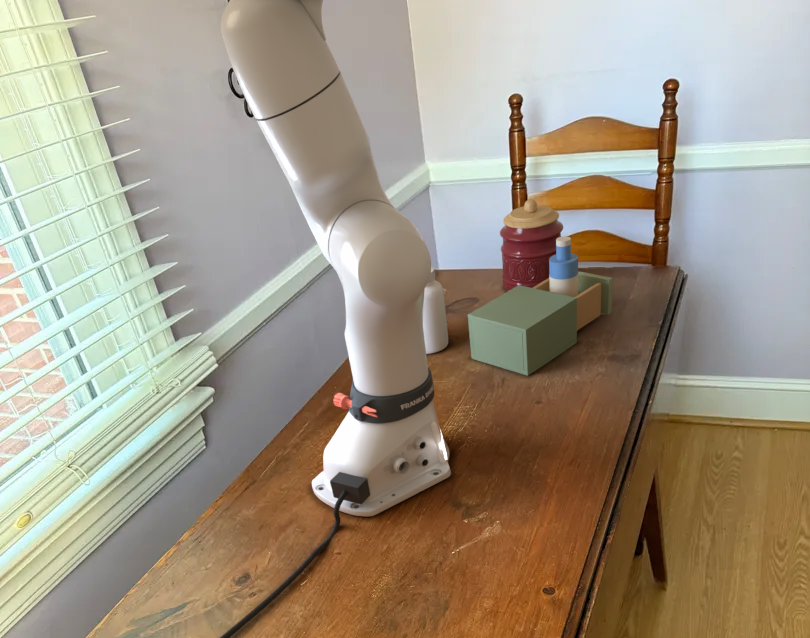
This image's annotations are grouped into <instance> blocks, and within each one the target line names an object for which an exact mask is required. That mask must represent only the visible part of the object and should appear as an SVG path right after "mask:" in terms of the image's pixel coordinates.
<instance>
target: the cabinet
mask: <svg viewBox="0 0 810 638" xmlns="http://www.w3.org/2000/svg"><path fill="white" fill-rule="evenodd" d="M467 322H468V333H469V344H470V355H471V360H475V361H478V362H482V363H484V364H489V365H491V366H493V367H494V366H495V367H498V368H501V369H505V370H508V371H511V372H514V373H518V374H521V375H524V376H526V377H527V376H530V375H532V374H533V373H534V372H536V371H537V370H539V369H540V368H541V367H543V366H545V365H546V364H548V363H549V362H551V361H552V360H553V359H556V358H557V357H558V356H560V355H561V354H562V353H563V352H565V351H567V350H568V349H570V348H572V347H573V346H574V345H576V344H577V343H578V339H577V337H578V330H577V298H575V297H571V296H566V295H562V294H557V293H552V292H548V291H543V290H539V289H534V288H530V287H525V286H521V285H518V286H516V287H515V288H513V289H511V290H509V291H506V292H504V293H503V294H501V295H499V296H497V297H495V298H493V299H492V300H490V301H489V302H487V303H485V304H483V305H482V306H480V307H479V308H476V309H475V310H473V311H471V312H469V313H468V314H467Z"/></svg>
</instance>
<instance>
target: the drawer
mask: <svg viewBox="0 0 810 638" xmlns="http://www.w3.org/2000/svg"><path fill="white" fill-rule="evenodd" d="M533 288H534V289H539V290H543V291H548V292H550V285H549V278H548V279H546V280H545V281H543V282H541V283H540V284H538V285H536V286H534V287H533ZM575 298H577V331H579V330H581V329H582V328H584V327H585V326H586V325H588V324H589V323H591V322H592V321H594V320H595V319H597V318H598V317H600V316H601V314H603V315H610V314H612V313H613V312H612V310H613V309H612V307H613V306H612V305H613V277H610V276H605V275H599V274H595V273H591V272H590V273H589V272H584V271H580V270H578V295H577V296H576V297H575Z"/></svg>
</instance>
